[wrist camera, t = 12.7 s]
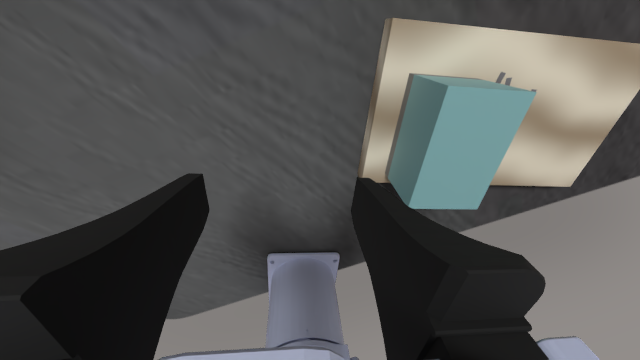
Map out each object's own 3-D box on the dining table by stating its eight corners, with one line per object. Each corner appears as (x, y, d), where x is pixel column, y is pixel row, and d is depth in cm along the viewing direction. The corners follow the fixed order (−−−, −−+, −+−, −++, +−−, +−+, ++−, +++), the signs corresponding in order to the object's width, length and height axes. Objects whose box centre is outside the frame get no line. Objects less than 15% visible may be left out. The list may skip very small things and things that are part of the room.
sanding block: (440, 174, 22) (477, 209, 17) (384, 173, 21) (407, 208, 17) (477, 78, 17) (536, 92, 13) (409, 73, 17) (448, 85, 13)
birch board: (556, 178, 25) (570, 186, 24) (357, 173, 22) (361, 182, 21) (643, 46, 19) (669, 47, 18) (385, 19, 16) (393, 17, 15)
